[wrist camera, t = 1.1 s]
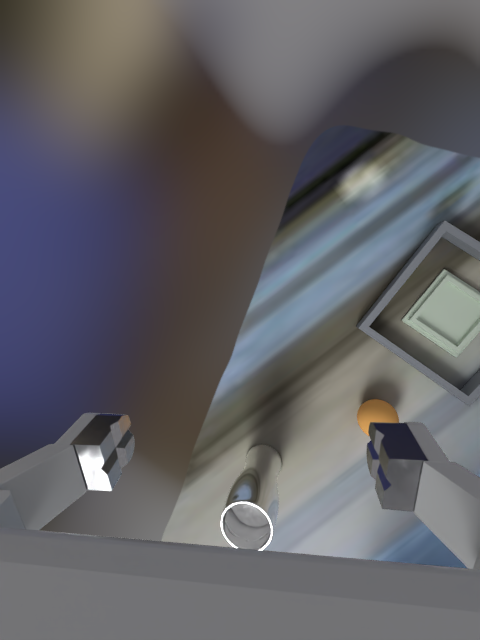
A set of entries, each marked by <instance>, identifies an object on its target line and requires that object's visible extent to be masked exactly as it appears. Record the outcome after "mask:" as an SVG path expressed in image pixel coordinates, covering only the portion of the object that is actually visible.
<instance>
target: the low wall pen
mask: <svg viewBox="0 0 480 640" xmlns="http://www.w3.org/2000/svg"><path fill="white" fill-rule="evenodd" d="M441 237H443V238H444V239H446V240H448V241H449V242H451V243H452V244H454V245H456V246H457V247H459V248H460V249H462V250H464V251H465V252H467V253H468V254H470V255H471V256H473V257H475V258H476V259H478V260H479V261H480V242H479V241H477V240H475V239H474V238H472V237H471V236H469V235H467V234H466V233H464V232H463V231H461V230H459V229H458V228H456V227H455V226H453V225H451V224H450V223H448V222H447V221H443V222H441V223H439V224H437V225H436V227H435V228H434V229H433V230H432V232H431V233H430V234H429V235H428V237H427V238H426V239H425V240H424V242H423V243H422V244H421V245H420V247H419V248H418V249H417V250H416V252H415V253H414V254H413V255H412V257H411V258H410V259H409V260H408V262H407V263H406V264H405V265H404V267H403V268H402V269H401V271H400V272H399V273H398V274H397V276H396V277H395V278H394V279H393V281H392V282H391V283H390V284H389V286H388V287H387V288H386V289H385V291H384V292H383V293H382V294H381V296H380V297H379V298H378V299H377V301H376V302H375V303H374V304H373V306H372V307H371V308H370V309H369V311H368V312H367V313H366V314H365V316H364V317H363V318H362V319H361V321H360V322H359V323H358V324H357V326H356V327H357V328H359V329H360V330H362V331H363V332H365V333H366V334H367V335H369V336H370V337H372V338H373V339H374V340H376V341H377V342H379V343H380V344H382V345H383V346H384V347H386V348H387V349H389V350H390V351H392V352H393V353H394V354H396V355H397V356H399V357H400V358H402V359H403V360H404V361H406V362H407V363H409V364H410V365H411V366H413V367H414V368H416V369H417V370H419V371H420V372H421V373H423V374H424V375H426V376H427V377H429V378H430V379H431V380H433V381H434V382H436V383H437V384H438V385H440V386H441V387H443V388H444V389H446V390H447V391H448V392H450V393H451V394H453V395H454V396H456V397H457V398H458V399H460V400H461V401H463V402H464V403H466V404H467V405H469V406H471V405H472V404H473V403H474V401H475V400H476V399H477V398H478V397H479V396H480V369H479V370H478V371H477V373H476V374H475V375H474V376H473V377H472V378H471V379H470V380H469V381H468V382H467V383H466V384H465V386H464V387H463V388H462V389H461V390H459V389H457V388H456V387H455V386H453V385H452V384H450V383H449V382H447V381H446V380H445V379H443V378H442V377H440V376H439V375H437V374H436V373H434V372H433V371H432V370H430V369H429V368H427V367H426V366H424V365H423V364H422V363H420V362H419V361H417V360H416V359H414V358H413V357H412V356H410V355H409V354H407V353H406V352H404V351H403V350H402V349H400V348H399V347H397V346H396V345H394V344H393V343H392V342H390V341H389V340H387V339H386V338H384V337H383V336H382V335H380V334H379V333H377V332H376V331H374V330H373V329H371V328H370V327H369V326H370V325H371V323H372V322H373V321H374V320H375V319H376V317H377V316H378V315H379V314H380V312H381V311H382V310H383V309H384V307H385V306H386V305H387V304H388V302H389V301H390V300H391V299H392V297H393V296H394V295H395V294H396V293H397V291H398V290H399V289H400V288H401V286H402V285H403V284H404V283H405V281H406V280H407V279H408V278H409V276H410V275H411V274H412V273H413V272H414V270H415V269H416V268H417V267H418V265H419V264H420V263H421V262H422V260H423V259H424V258H425V257H426V255H427V254H428V253H429V252H430V250H431V249H432V248H433V247H434V246H435V244H436V243H437V242H438V241H439V239H440V238H441Z"/></svg>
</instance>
